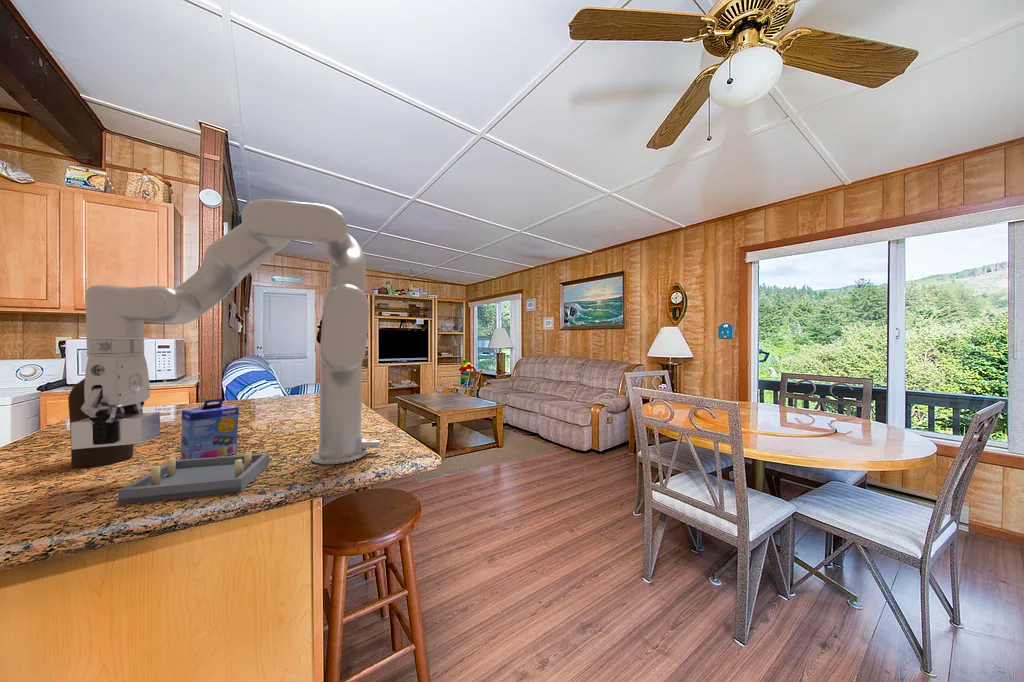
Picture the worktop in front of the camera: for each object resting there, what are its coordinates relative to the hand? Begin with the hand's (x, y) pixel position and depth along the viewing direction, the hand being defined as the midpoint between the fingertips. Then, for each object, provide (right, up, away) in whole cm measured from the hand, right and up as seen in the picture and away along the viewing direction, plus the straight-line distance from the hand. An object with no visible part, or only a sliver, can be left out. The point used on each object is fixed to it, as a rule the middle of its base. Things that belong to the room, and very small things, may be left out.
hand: (118, 438), depth 69 cm
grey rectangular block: (0, -1, 0) cm, 1 cm away
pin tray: (+15, -9, +2) cm, 18 cm away
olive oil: (-18, -9, +13) cm, 24 cm away
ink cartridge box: (+4, -10, +16) cm, 19 cm away
